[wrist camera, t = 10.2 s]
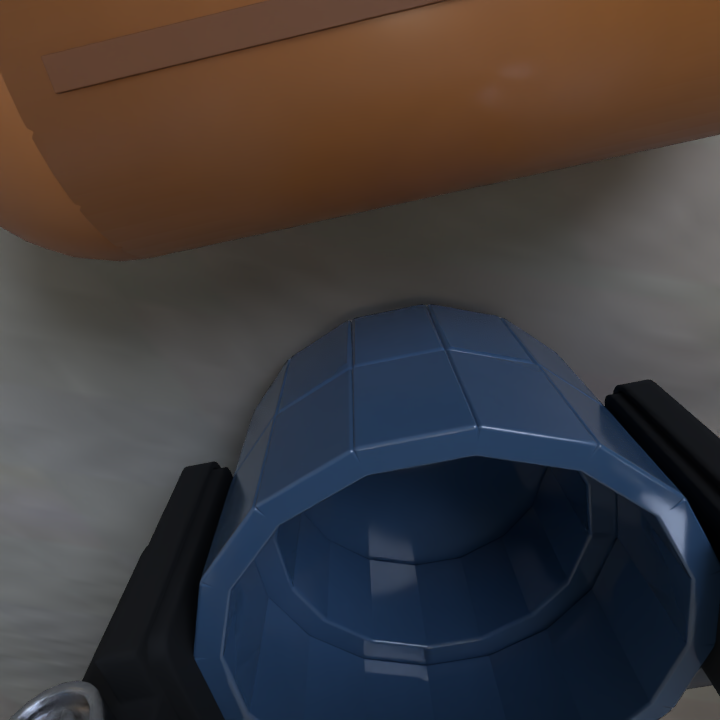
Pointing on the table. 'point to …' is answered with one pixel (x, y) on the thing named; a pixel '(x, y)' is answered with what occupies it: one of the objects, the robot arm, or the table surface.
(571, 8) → the bun
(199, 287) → the table surface
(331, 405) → the bowl
